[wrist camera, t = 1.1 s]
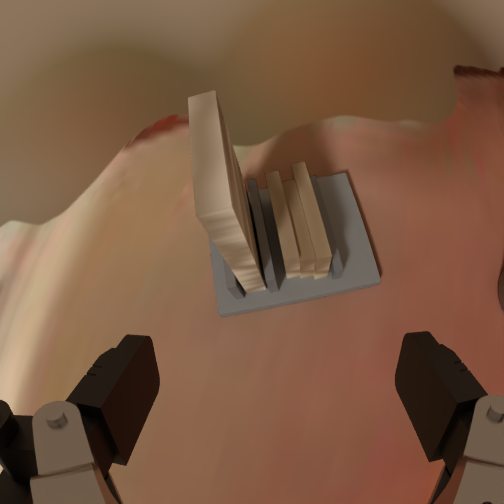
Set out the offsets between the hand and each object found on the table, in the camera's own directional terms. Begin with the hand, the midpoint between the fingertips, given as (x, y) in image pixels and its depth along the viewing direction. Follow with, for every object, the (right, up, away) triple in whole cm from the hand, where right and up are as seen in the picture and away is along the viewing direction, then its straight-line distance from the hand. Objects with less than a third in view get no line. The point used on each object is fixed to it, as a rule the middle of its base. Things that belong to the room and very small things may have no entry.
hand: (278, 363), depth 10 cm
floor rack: (+4, +5, +33) cm, 33 cm away
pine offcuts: (+5, +5, +31) cm, 32 cm away
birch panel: (-1, +4, +32) cm, 32 cm away
